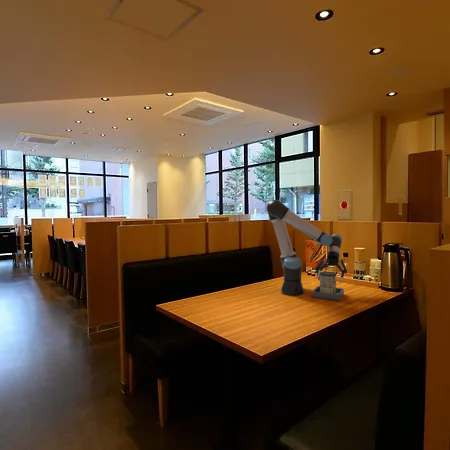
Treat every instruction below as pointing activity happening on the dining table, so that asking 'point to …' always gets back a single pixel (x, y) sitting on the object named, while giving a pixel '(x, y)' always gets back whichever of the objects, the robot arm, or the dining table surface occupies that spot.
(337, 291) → the tray
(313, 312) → the dining table surface
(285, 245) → the robot arm
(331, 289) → the coffee can
